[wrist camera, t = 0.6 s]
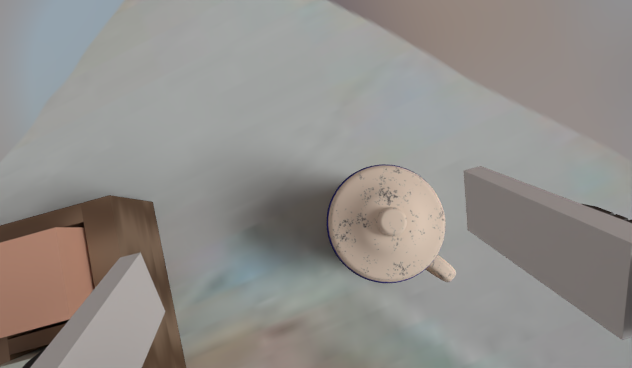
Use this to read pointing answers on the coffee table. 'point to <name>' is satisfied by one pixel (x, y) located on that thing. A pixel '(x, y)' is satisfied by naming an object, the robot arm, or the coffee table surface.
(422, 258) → the teacup with lid
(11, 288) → the pink square block
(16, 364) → the slate key
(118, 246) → the frame
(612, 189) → the coffee table surface
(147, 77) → the coffee table surface
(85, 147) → the coffee table surface
